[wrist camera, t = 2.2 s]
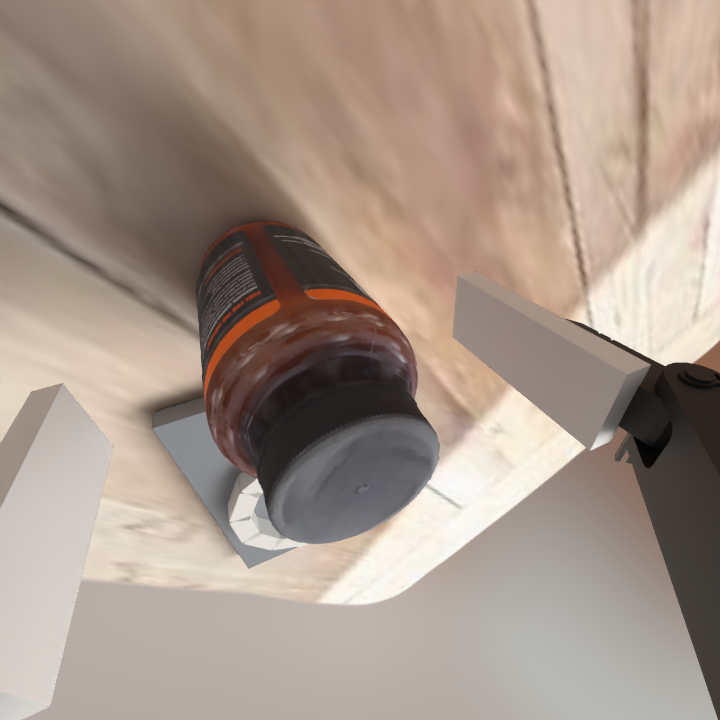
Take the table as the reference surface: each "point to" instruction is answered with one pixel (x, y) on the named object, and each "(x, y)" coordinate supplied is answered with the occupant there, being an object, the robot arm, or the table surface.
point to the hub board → (220, 483)
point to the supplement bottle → (309, 385)
